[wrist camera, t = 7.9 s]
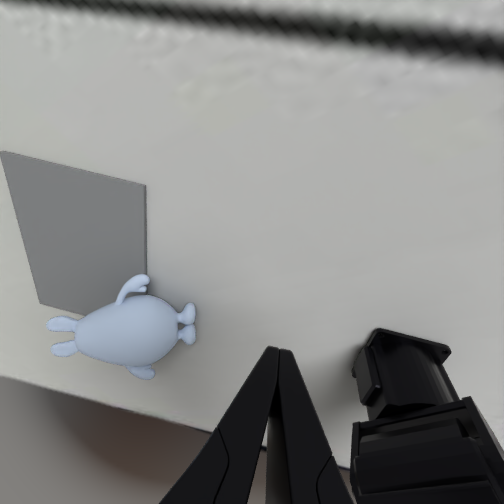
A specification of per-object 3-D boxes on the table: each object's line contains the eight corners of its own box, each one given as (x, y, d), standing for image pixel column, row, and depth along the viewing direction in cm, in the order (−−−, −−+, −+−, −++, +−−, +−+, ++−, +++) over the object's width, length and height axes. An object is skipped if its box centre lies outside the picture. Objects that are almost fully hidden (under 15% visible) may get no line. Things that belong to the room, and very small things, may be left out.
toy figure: (193, 260, 28) (54, 265, 25) (197, 285, 22) (17, 295, 19) (194, 352, 31) (70, 367, 28) (198, 395, 25) (43, 419, 22)
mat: (146, 185, 22) (143, 186, 22) (147, 329, 30) (145, 332, 30) (3, 150, 23) (-2, 151, 22) (42, 301, 31) (39, 303, 30)
